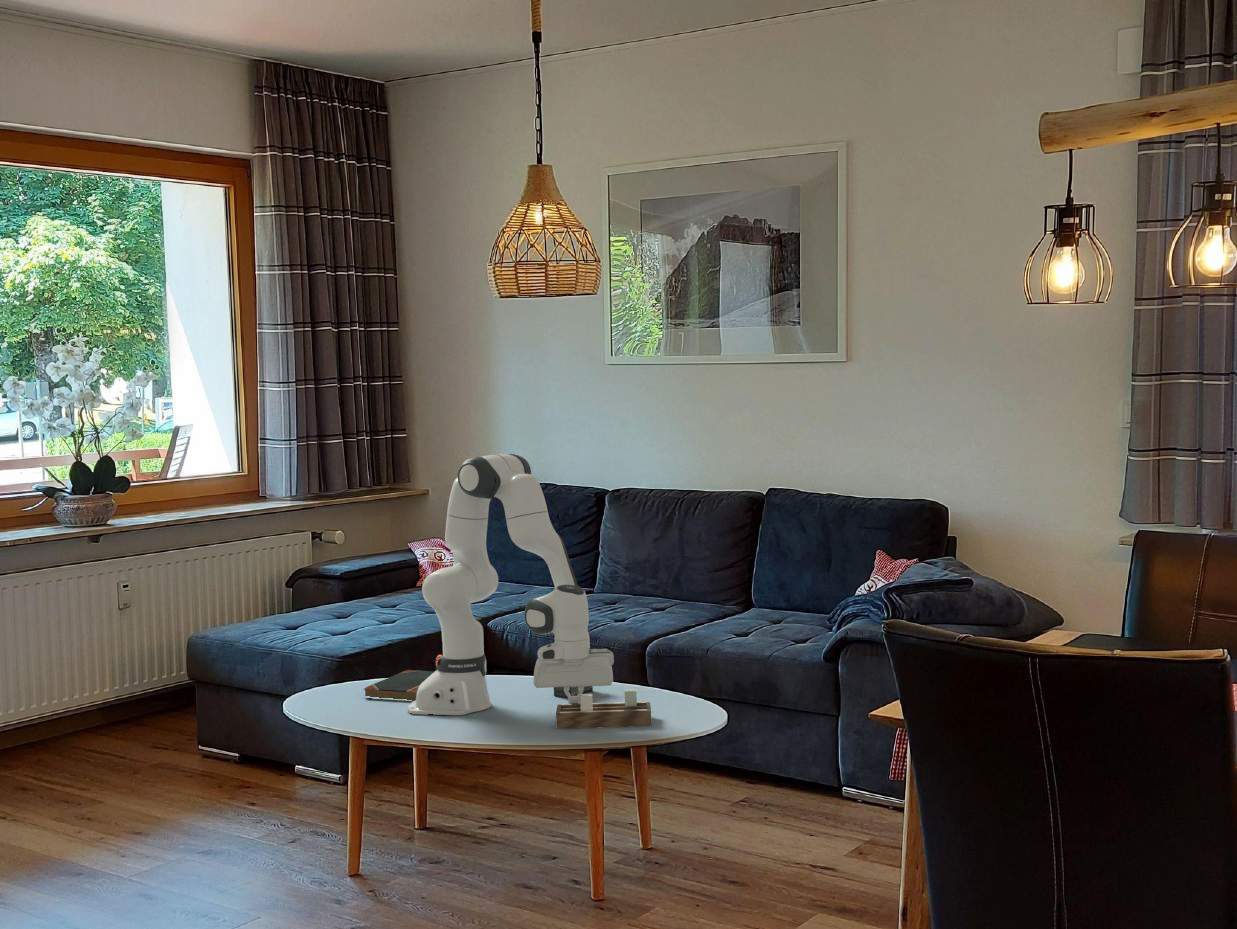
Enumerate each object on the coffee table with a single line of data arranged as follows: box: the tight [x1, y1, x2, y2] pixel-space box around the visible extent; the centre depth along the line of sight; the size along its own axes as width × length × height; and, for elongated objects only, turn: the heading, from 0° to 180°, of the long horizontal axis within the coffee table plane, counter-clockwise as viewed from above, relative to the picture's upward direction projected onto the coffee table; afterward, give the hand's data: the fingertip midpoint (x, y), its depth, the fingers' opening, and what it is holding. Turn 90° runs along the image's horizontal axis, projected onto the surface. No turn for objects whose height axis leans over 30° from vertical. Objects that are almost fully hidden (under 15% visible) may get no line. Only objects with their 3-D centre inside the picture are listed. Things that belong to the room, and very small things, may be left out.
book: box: [363, 669, 435, 701], centre depth 367 cm, size 17×4×25 cm
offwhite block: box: [580, 693, 594, 711], centre depth 321 cm, size 3×2×6 cm
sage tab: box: [624, 688, 638, 706], centre depth 325 cm, size 3×2×6 cm
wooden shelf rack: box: [555, 701, 652, 730], centre depth 324 cm, size 24×9×4 cm, turn 90°
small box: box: [553, 686, 594, 699], centre depth 356 cm, size 11×6×10 cm, turn 144°
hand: (574, 703), depth 321 cm, fingers closed
